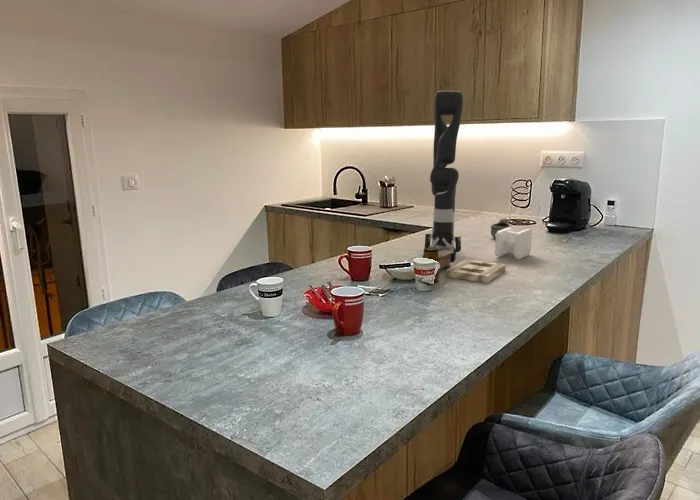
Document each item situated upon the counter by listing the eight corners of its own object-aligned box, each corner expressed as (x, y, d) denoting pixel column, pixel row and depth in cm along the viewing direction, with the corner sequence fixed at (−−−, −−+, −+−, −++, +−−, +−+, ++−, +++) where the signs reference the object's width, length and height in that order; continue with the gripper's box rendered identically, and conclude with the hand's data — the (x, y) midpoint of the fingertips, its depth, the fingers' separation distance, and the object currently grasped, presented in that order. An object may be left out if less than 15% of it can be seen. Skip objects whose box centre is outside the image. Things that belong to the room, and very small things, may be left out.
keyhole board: (445, 276, 195) (445, 270, 195) (465, 265, 211) (466, 259, 211) (487, 283, 186) (487, 276, 186) (505, 270, 203) (505, 264, 202)
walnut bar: (429, 272, 202) (429, 257, 201) (444, 264, 213) (444, 250, 212) (439, 273, 200) (439, 258, 198) (453, 265, 211) (454, 251, 210)
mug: (488, 240, 259) (489, 220, 257) (491, 235, 270) (492, 216, 268) (508, 241, 256) (509, 221, 253) (511, 236, 267) (512, 217, 265)
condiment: (432, 277, 195) (433, 245, 192) (446, 282, 188) (447, 250, 185) (416, 279, 192) (416, 247, 189) (429, 285, 185) (430, 252, 182)
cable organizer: (517, 261, 217) (518, 234, 214) (493, 258, 223) (494, 231, 221) (531, 254, 228) (532, 228, 225) (507, 251, 234) (509, 226, 232)
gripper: (422, 219, 203) (421, 260, 206) (456, 222, 195) (455, 265, 199) (430, 217, 209) (429, 256, 213) (464, 220, 201) (463, 261, 205)
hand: (442, 260), depth 206 cm, fingers open, 8 cm apart
